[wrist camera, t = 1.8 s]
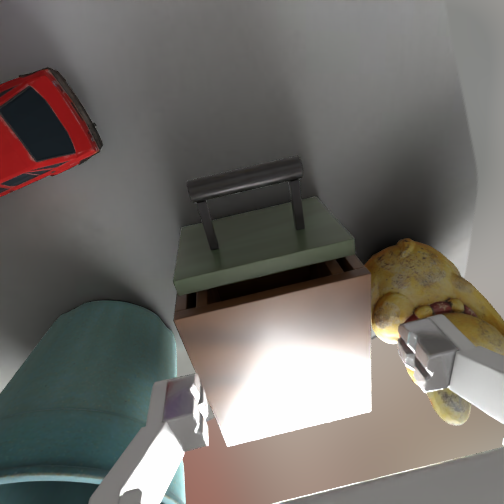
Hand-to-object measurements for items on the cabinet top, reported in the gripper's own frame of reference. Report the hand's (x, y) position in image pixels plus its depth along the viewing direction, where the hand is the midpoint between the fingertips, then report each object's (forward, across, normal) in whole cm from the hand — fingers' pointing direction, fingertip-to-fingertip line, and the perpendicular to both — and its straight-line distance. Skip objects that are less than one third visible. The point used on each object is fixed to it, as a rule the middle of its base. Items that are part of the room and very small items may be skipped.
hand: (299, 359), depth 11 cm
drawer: (+16, 0, +5) cm, 17 cm away
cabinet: (+17, 0, +10) cm, 20 cm away
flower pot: (+17, +16, +12) cm, 27 cm away
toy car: (+17, +16, -8) cm, 25 cm away
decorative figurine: (+17, -12, +10) cm, 24 cm away
